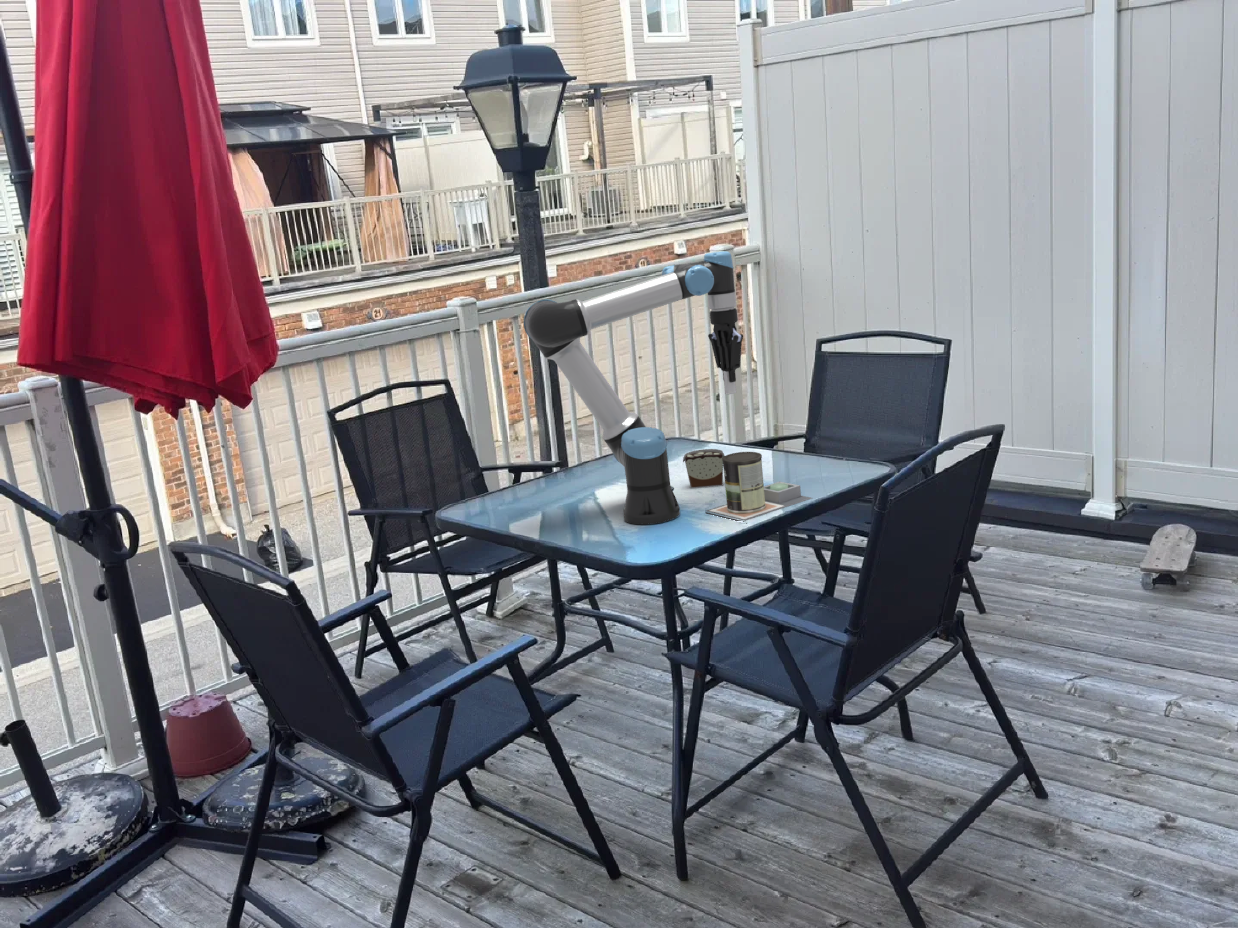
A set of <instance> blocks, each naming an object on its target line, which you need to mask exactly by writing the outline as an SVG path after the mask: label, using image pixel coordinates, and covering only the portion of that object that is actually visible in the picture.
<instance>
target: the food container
mask: <svg viewBox="0 0 1238 928" xmlns="http://www.w3.org/2000/svg"><path fill="white" fill-rule="evenodd" d="M724 456H726V455H725V452H723V450H721V449H716V448H705V449H697V450H692V451H689V452H686V453H684V455H683V457H682V458H683V459H682V462H683V463H685V468H686V473H687V476H688V482H689V486H690V487H689V488H690V489H699V488H700V489H701V488H710V487H723V486H724V468H723V461H722V458H723V457H724Z"/></svg>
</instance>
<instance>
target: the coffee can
mask: <svg viewBox="0 0 1238 928" xmlns="http://www.w3.org/2000/svg"><path fill="white" fill-rule="evenodd" d="M762 456H763V455H762V453H760V452H757V451H740V452H734V453H732V452H731V453H729V454H726V455H725V456H724V457H723V458H722V461H723V479H724V485H725V486H724V487H725V497H726V504H727V510H728V511H729V512H732V513H739V514H744V513H753V512H757V511H760V510H763V509H764V508H765V507H766V505H765V495H764V486H765V483H764V474H763V472H764V471H763V462H762V458H763V457H762Z"/></svg>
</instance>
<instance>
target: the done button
mask: <svg viewBox="0 0 1238 928" xmlns="http://www.w3.org/2000/svg"><path fill="white" fill-rule="evenodd" d="M775 483H776V482H775ZM786 483H787V482H785V483H776V484H773V483H771V484H772V485H770V484H769V485H770V490H775V491H780V490H784V489H787V488H788V484H786Z"/></svg>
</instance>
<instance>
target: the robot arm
mask: <svg viewBox="0 0 1238 928" xmlns="http://www.w3.org/2000/svg"><path fill="white" fill-rule="evenodd" d="M706 294H707V302H708V309H709V310H710V311H709V321H710V322H709V323H710V324H711V325H713V328H712V329H713V332H712V333H709V334H708V335H707V336H708V339H709V341H710V343H711V344H710V345H711V348H712V352H713V357H714V360H715V365H716V368H717V369H720V370H721V371H722V377H723V378H722V380H723V383H724V394H725V395H732V394H737V386H736V381H737V377H736V371H737V370H736V369H739V368H741V357H742V342H743V340H744V334H742V333H738V332H737V331H738V329H737V327H736V323H737V322H738V321H739V320H738V319H739V318H738V309H737V308H735V307H736V306H737V302H736V300H737V299H736V289H735V275H734V265H733V257H732V254H731V252H730V251H726V250H725V251H713V252H708V253H705V254H704V256H703V261H698V262H692V263H691V262H690V263H680V264H672V265H668V266H664V267H663V269H662V271H661V275H660V276H657V277H654V278H651V279H648V280H647V279H646V280H643V281H640V282H638V283H634V284H631V285H629V286H626V287H623V288H620V289H616V290H614V291H610V292H607V293H603V294H599V295H598V296H595V297H592V298H588V299H585V300H580V299H578V298H575V299H571V300H568V301H563V302H557V301H556V300H555V301H554V300H552V299H541V300H538V301H536V302H534V303H532V304H531V305H530V306H529V307H528V308H527V310H526V311H525V313H524V317H523V328H524V331H525V333H526V335H527V336H528V337H529V339H531V340H532V341H533V343H534V344H535V346H536V347H537V348H538V349H539V351H540V353H541V354H542V355H543V357H544V358H545V359H547V360H552V361H553V362H555V364H556V365H557V367H558V368H559V369H560V371H561V372H562V374H563V375H564V376H565V378H566V379H567V381H568V382H569V384H570V385H571V386H572V387H573V389H574V391H575V392H576V393H577V395H578V396H579V397H580V399H581V400H582V402H583V403H584V405H585V406H586V407H587V409H588V410H589V412H590V413H591V414H592V416H593V417H594V419H595V420H596V421H597V423H598V424H599V426H600V427H601V429H602V430H603V433H602V439H603V441H604V442H605V444H606V445H607V446H608V448H609V449H610V451H611V452H612V455H613V457H614V458H615V460H616V461H618V463H620V464H621V465H622V466H623V467H624V472H625V475H624V476H625V482H626V491H627V492H626V497H625V503H624V509H623V513H622V514H623V519H624V522H626V523H628V524H633V525H655V524H656V525H657V524H661V523H662V524H663V523H665V522H668V521H672V520H674V519H677V518H678V517H679V516H680V515H681V511H680V504H679V502H678V500H677V497H676V495H675V492H674V491H673V488H672V486H671V479H670V469H669V461H668V459H669V458H668V449H667V446H668V445H667V444H668V443H667V440H666V435H665V434H664V433H665V432H663V431H662V430H660V429H659V428H656V427H648V426H646V425H645V424H644V422H643V421H642V419H641V417H640V416H639V415H638V413H636V412H631V411H629V410H628V408H627V407H626V406H625V404H624V403H623V401H622V400H621V399H620V397H619V395H618V394H617V393H616V392H615V390H614V389H613V387H612V386H611V384H610V383H609V382H608V380H607V378H606V377H605V376H604V374H603V373H602V371H601V370H600V369H599V367H598V365H597V364H596V362H595V361H594V360H593V359H592V357H591V355H590V354H589V353H588V351H587V350H586V349H585V347H584V346H583V344H582V343H581V338H583V337H585V336H588V335H589V334H590V333H591V330H593V329H598V328H600V327H603V326H606V325H609V324H612V323H615V322H618V321H621V320H623V319H628V318H630V317H633V316H637V315H639V314H642V313H643V314H644V313H645V312H646V313H647V312H648V311H652V310H654V309H658V308H661V307H663V306H666V305H669V304H672V303H675V302H679V301H682V300H686V299H688V298H693V297H694V296H695V297H697V296H699V297H700V296H704V295H706Z"/></svg>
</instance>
